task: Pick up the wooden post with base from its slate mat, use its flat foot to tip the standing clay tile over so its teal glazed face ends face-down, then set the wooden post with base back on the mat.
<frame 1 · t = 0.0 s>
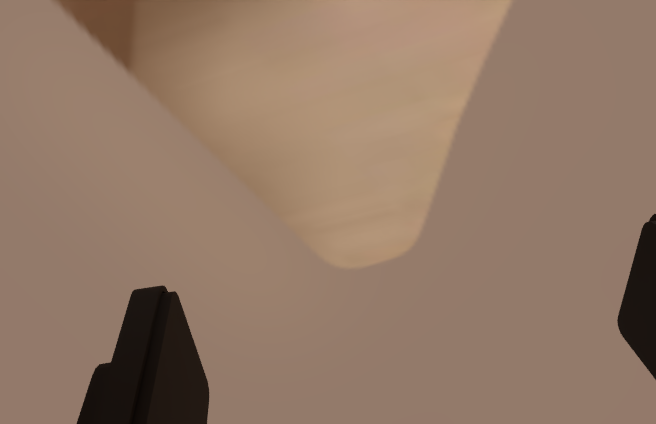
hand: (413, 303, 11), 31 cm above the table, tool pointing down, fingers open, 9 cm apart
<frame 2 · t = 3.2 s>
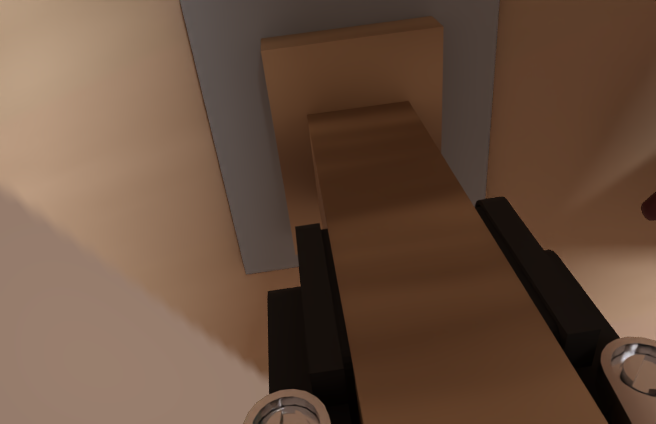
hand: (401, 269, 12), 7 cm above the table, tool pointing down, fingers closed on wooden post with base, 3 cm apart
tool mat: (353, 131, 18), on the table
wooden post with base: (355, 136, 17), resting on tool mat, touching gripper
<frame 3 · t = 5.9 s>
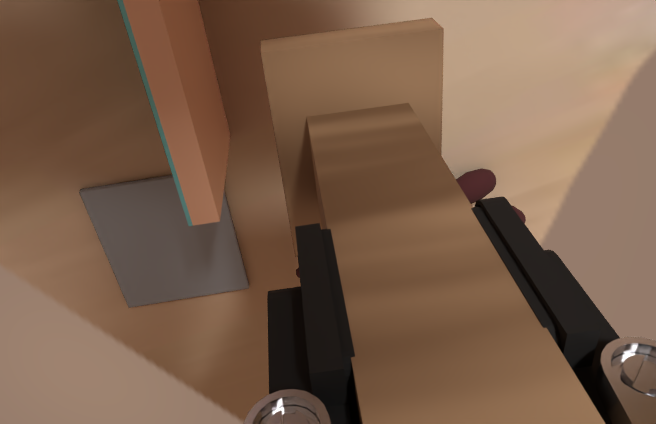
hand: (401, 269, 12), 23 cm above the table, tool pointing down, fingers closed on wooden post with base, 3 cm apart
tile: (184, 69, 27), point 5 cm above the table
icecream: (393, 207, 39), on the table
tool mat: (171, 240, 38), on the table
wooden post with base: (355, 138, 17), point 16 cm above the table, touching gripper
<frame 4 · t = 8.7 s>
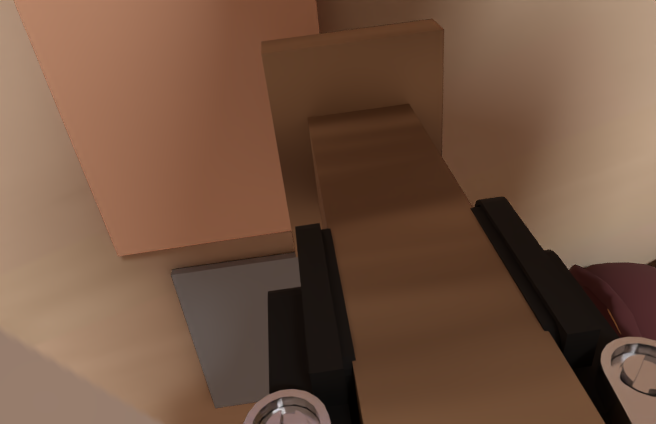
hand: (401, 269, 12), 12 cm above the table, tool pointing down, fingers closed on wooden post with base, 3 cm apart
tile: (200, 107, 21), on the table, tilted 90°
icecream: (575, 284, 30), on the table
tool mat: (280, 330, 29), on the table
wooden post with base: (355, 139, 18), point 5 cm above the table, touching gripper
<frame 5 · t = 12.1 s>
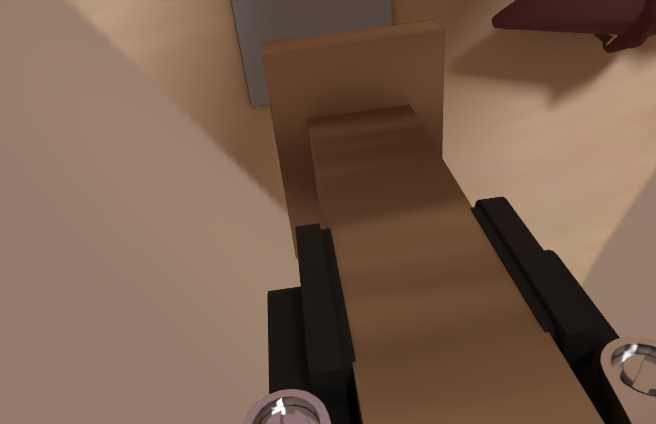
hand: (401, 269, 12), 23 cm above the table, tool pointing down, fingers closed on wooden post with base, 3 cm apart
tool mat: (313, 12, 31), on the table
wooden post with base: (356, 140, 17), point 17 cm above the table, touching gripper
when the fingers open (8 cm above the table, at t = 14.9 s): wooden post with base stays where it is, resting on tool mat.
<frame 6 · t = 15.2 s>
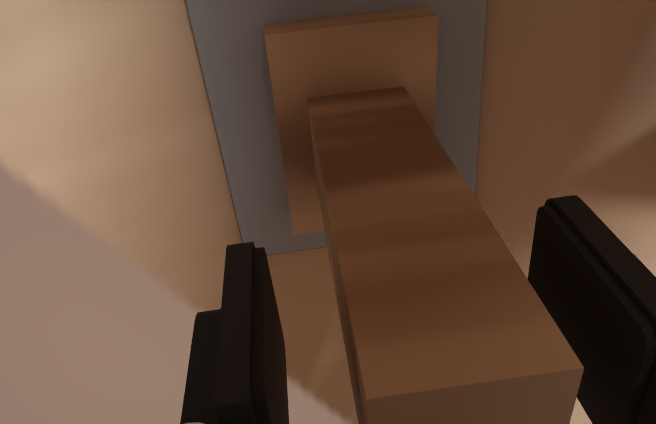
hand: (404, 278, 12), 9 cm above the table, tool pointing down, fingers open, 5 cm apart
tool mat: (349, 119, 19), on the table
wooden post with base: (352, 121, 18), resting on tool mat
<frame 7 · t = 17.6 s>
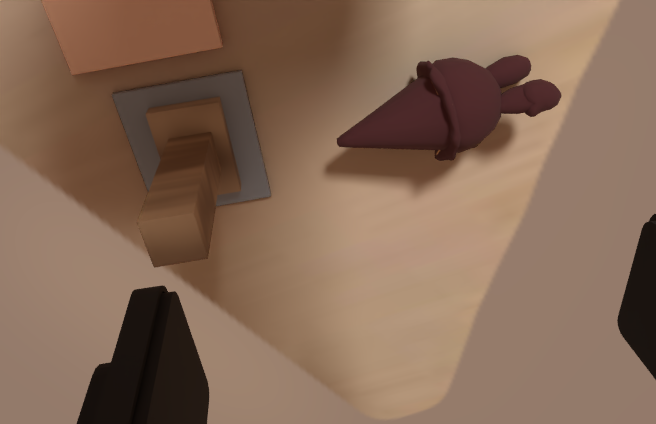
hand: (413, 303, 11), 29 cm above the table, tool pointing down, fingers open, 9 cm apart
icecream: (429, 93, 40), on the table
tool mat: (197, 146, 40), on the table
wooden post with base: (197, 147, 39), resting on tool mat
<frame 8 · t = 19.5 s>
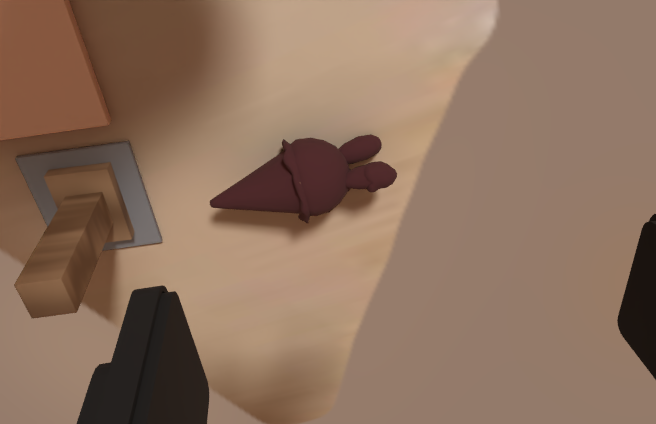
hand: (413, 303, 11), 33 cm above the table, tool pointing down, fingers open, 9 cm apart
tile: (14, 54, 39), on the table, tilted 90°
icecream: (298, 160, 47), on the table
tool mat: (94, 200, 46), on the table
wooden post with base: (93, 201, 46), resting on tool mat
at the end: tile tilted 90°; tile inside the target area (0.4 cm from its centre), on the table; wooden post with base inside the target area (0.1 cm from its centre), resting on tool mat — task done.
